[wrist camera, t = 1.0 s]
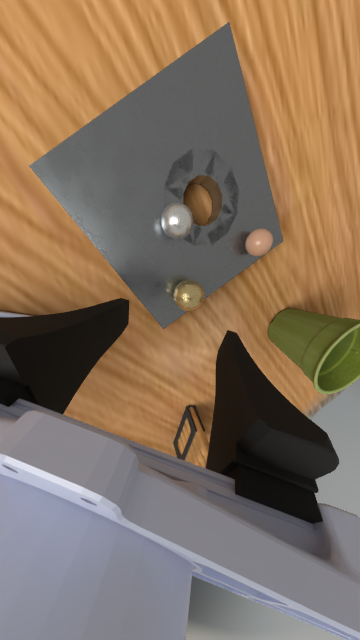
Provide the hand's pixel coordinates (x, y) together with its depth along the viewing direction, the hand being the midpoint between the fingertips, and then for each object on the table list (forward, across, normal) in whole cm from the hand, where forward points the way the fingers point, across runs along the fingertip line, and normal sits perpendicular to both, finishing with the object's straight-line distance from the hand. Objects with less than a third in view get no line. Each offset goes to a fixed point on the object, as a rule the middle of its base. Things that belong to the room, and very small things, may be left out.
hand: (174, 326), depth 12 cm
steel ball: (+9, +3, -6) cm, 11 cm away
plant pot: (+21, -18, +8) cm, 29 cm away
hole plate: (+14, +4, -6) cm, 15 cm away
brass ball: (+8, 0, +1) cm, 9 cm away
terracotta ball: (+14, -6, -5) cm, 16 cm away
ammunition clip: (+9, -5, +30) cm, 32 cm away
